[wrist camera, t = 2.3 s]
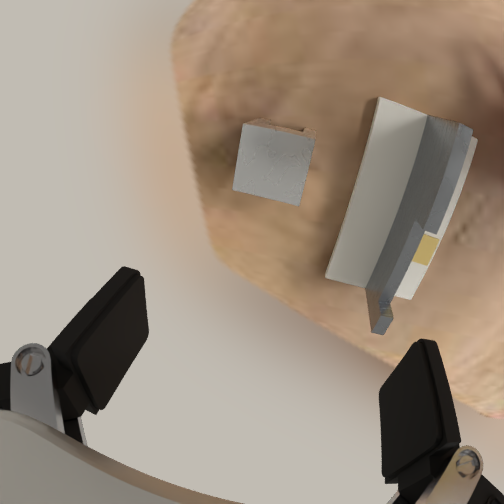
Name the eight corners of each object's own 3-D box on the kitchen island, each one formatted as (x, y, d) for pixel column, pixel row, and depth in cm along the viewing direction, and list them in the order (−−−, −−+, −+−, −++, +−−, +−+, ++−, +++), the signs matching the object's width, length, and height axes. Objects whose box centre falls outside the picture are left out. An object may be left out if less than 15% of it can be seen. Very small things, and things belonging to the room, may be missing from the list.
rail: (427, 115, 20) (459, 122, 14) (439, 120, 20) (473, 129, 14) (365, 288, 29) (371, 332, 23) (375, 290, 29) (383, 334, 23)
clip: (259, 117, 24) (243, 123, 19) (316, 130, 24) (315, 139, 19) (250, 170, 27) (232, 189, 22) (303, 183, 26) (299, 206, 21)
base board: (378, 96, 21) (380, 96, 20) (473, 137, 20) (479, 139, 19) (325, 272, 30) (325, 278, 29) (408, 294, 29) (411, 301, 28)
